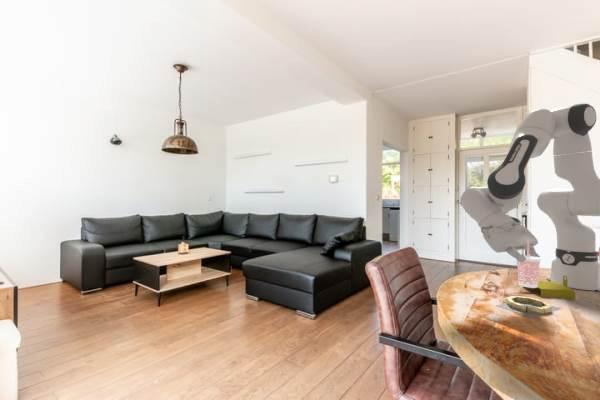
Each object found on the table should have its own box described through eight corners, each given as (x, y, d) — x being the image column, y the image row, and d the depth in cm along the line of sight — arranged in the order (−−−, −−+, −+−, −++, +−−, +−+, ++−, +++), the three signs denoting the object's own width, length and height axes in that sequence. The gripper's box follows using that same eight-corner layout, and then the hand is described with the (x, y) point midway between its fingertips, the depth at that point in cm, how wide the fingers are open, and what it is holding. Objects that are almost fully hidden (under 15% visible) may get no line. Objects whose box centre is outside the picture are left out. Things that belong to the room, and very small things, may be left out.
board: (524, 300, 97) (524, 297, 97) (561, 311, 88) (561, 308, 88) (495, 308, 90) (495, 305, 90) (532, 321, 81) (532, 317, 81)
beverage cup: (510, 282, 92) (511, 239, 92) (528, 282, 92) (528, 239, 92) (527, 289, 86) (527, 242, 85) (546, 288, 86) (546, 242, 86)
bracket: (507, 268, 112) (550, 270, 110) (507, 288, 112) (550, 290, 110) (532, 280, 97) (582, 281, 94) (532, 302, 97) (582, 305, 94)
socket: (519, 299, 96) (519, 294, 96) (557, 310, 86) (557, 304, 86) (500, 304, 91) (500, 299, 91) (538, 316, 82) (538, 310, 82)
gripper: (485, 220, 91) (519, 257, 82) (521, 218, 99) (556, 251, 90) (471, 233, 95) (502, 269, 86) (507, 230, 103) (539, 262, 95)
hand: (530, 260), depth 88 cm, fingers closed on beverage cup, 6 cm apart
